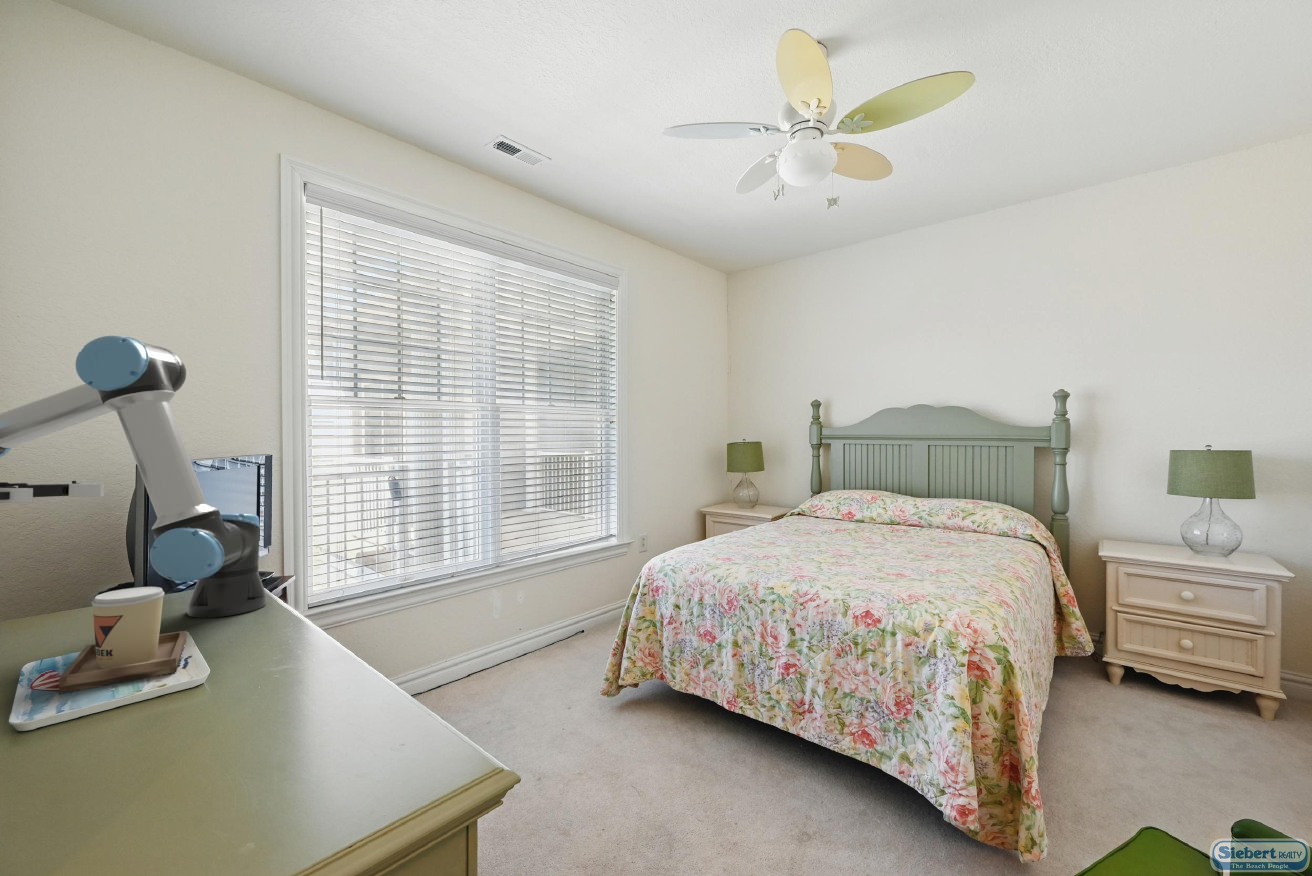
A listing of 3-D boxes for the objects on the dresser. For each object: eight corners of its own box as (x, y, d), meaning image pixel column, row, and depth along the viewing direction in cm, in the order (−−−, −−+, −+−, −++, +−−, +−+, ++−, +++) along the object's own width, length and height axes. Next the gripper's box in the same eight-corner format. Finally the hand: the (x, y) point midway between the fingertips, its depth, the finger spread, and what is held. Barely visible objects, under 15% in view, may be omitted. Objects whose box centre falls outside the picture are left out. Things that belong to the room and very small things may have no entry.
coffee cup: (80, 664, 96) (82, 595, 96) (149, 647, 104) (150, 584, 105) (103, 674, 92) (104, 602, 92) (172, 656, 100) (174, 590, 100)
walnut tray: (185, 643, 110) (186, 630, 110) (175, 672, 95) (176, 658, 95) (86, 658, 101) (86, 645, 101) (58, 693, 87) (59, 677, 87)
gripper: (28, 505, 121) (126, 505, 122) (-131, 519, 96) (-6, 519, 97) (29, 471, 121) (127, 471, 122) (-129, 476, 97) (-5, 476, 97)
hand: (68, 492), depth 109 cm, fingers open, 13 cm apart
